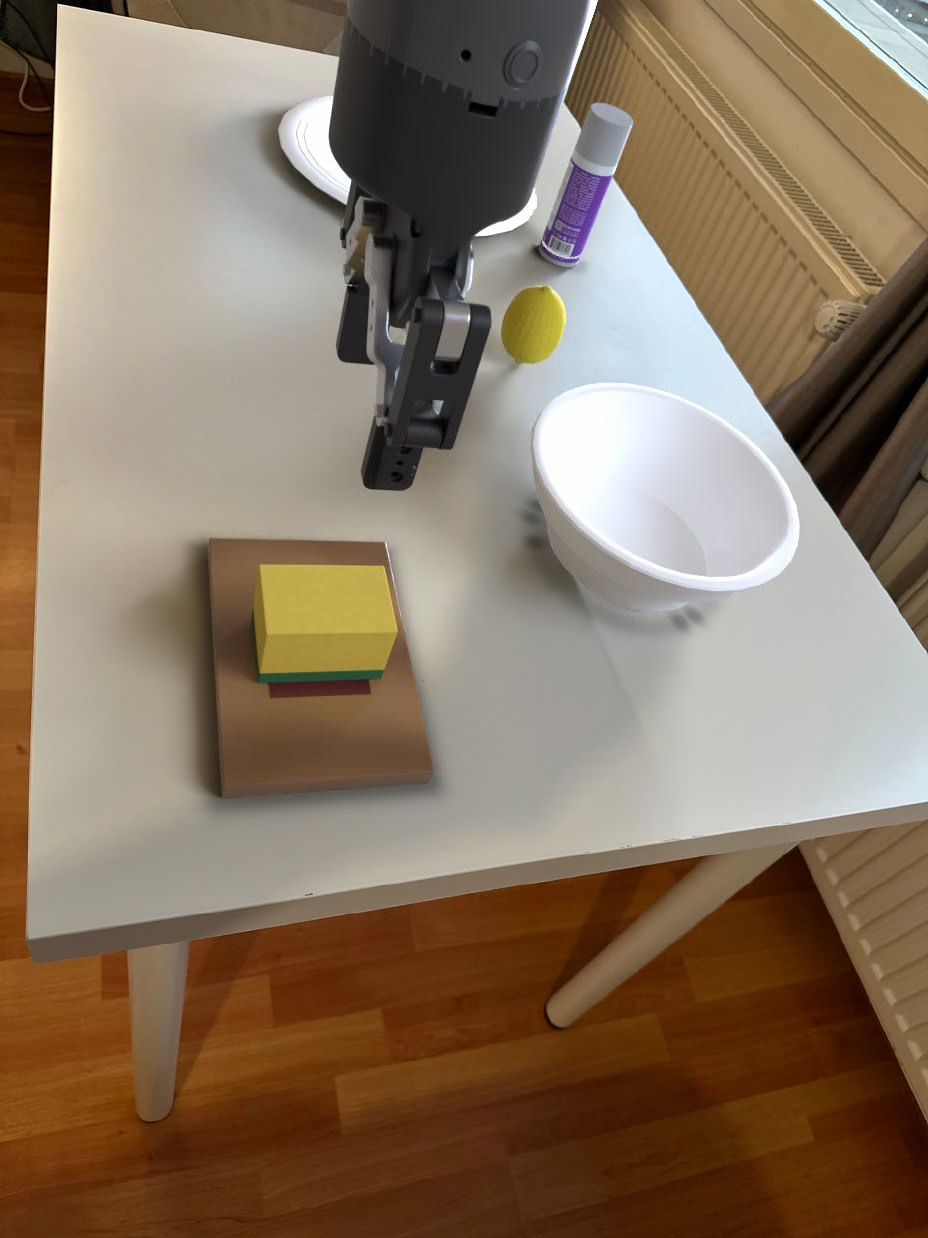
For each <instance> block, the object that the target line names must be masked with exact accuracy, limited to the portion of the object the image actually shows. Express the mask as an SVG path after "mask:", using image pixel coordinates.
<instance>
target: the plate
mask: <svg viewBox="0 0 928 1238" xmlns="http://www.w3.org/2000/svg"><path fill="white" fill-rule="evenodd" d="M333 96H334V94H333V95H332V94H331V95H322V96H321V95H320V96H317V97H314V98H311V99H308V100H305V101H302V102H299V103H296V105H294V106H293V107H292V108H290V109H289V110H287V112H285V113H284V114H283V116H282V119H281V121H280V123H279V126H278V127H277V128H278V129H277V134H278V139H279V144H280V149H281V151H282V153H283V154H284V156H285V157H286V158H287V160H288V162H289V163H290V165H291V166H292V167H293V169H294V170H295V171H296V172H297V173H298V174H300V175H301V176H302V177H303V178H304V179H305V180H306V181H307V182H309V183H310V184H311V185H312V186H313V187H314V188H316V189H317V190H318V191H319V192H321V193H323V194H325V195H326V196H328V197H330V198H331V199H333V200H334V201H335V202H338V203H339V204H341V205H343V206H344V207H346V205H347V200H348V195H349V189H350V184H351V179H350V178H349V177H348V176H347V175H346V174H345V173H344V172H343V171H342V169H341V168H340V167H339V165H338V164H337V162H336V160H335V159H334V157H333V154H332V152H331V149H330V145H329V140H328V130H329V123H330V116H331V109H332V103H333ZM535 190H536V188H535V189H534V190H533V193H532V196H531V198H530V200H529V202H528V204H527V205H526V206H525V208H524V209H523V210H522V211H521V212H520V213H518V214H517V215H516V216H514V217H512V218H510V219H508V220H506V221H503V222H499V223H496V224H494V225H491V226H489V227H487V228H485V229H483V230H482V231H480V232H479V233H477V234H476V235H475V236H474V237H473V238H472V239H478V238H479V239H482V238H483V239H484V238H491V237H494V236H499V235H502V234H508V233H511V232H513V231H515V230H517V229H518V228H519V227H521V226H523V225H524V224H526V223H527V222H529V220H530V218H531V217H530V216H532V215H533V213H534V212H533V211H535V210H536V208H537V193H536V194H535ZM534 209H535V210H534Z"/></svg>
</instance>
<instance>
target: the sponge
mask: <svg viewBox="0 0 928 1238" xmlns="http://www.w3.org/2000/svg"><path fill="white" fill-rule="evenodd" d="M252 625H253V635H254V646H255V657H256V668H257V679H258V683H274V682H303V681H333V680H363V679H381V678H382V675H383V672H384V669H385V666H386V663H387V660H388V657H389V654H390V652H391V649H392V646H393V643H394V640H395V638H396V635H397V632H398V631H397V626H396V622H395V617H394V612H393V607H392V602H391V597H390V592H389V588H388V583H387V578H386V573H385V568H384V566H341V565H259V567H258V574H257V582H256V589H255V596H254V604H253V610H252Z"/></svg>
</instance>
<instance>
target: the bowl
mask: <svg viewBox="0 0 928 1238" xmlns="http://www.w3.org/2000/svg"><path fill="white" fill-rule="evenodd" d="M530 452H531V453H530V454H531V463H532V471H533V480H534V485H535V492H536V497H537V501H538V503H539V505H540V508H541V509H542V512H543V515H544V517H545V518H546V522H545V523H546V524H545V526H546V532H547V538H548V541H549V543H550V546H551V548H552V550H553V553H554V554H555V556H556V557H557V559H558V560H559V562H560V563H561V565H562V566H563V568H565V570H566V571H567V572H568V573H569V574H570V575H571V576H572V577H573V578H574V580H576V581H578V582H579V583H580V584H581V585H582V586H583V587H585V588H586V589H587V590H589V591H591V592H592V593H593V594H595V595H597V596H599V597H600V598H602V599H604V600H606V601H609V602H611V603H613V604H616V605H618V606H621V607H624V608H627V609H631V610H635V611H642V612H649V613H650V612H651V613H657V612H658V613H659V612H669V611H674V610H676V609H680V608H683V607H684V606H686V605H688V604H690V603H691V604H692V603H693V604H694V603H710V602H714V601H719V600H722V599H726V598H729V597H732V596H734V595H737V594H740V593H742V592H745V591H748V590H750V589H752V588H756V587H759V586H761V585H764V584H765V583H766V582H768V581H770V580H772V579H773V578H775V577H777V576H778V575H780V574H781V573H782V572H783V571H784V570H785V568H786V567H788V565H789V564H790V563H791V562H792V560H793V558H794V555H795V553H796V550H797V549H798V545H799V537H800V525H801V524H800V519H799V514H798V508H797V504H796V502H795V500H794V498H793V495H792V493H791V491H790V488H789V486H788V484H787V482H786V481H785V480H784V478H783V476H782V475H781V473H780V472H779V470H778V468H777V467H776V466H775V465H774V463H772V461H771V460H770V459H769V458H768V456H766V454H765V453H764V452H763V451H762V450H761V449H760V448H759V447H758V446H757V445H756V444H754V442H752V441H751V440H750V439H749V438H748V437H747V436H746V435H745V434H744V433H743V432H741V431H740V430H739V429H737V428H735V426H733V425H731V423H729V422H727V421H726V420H724V419H723V418H721V417H720V416H718V415H716V414H714V413H713V412H711V411H709V410H707V409H706V408H704V407H702V406H700V405H698V404H696V403H695V402H692V401H689V400H687V399H686V398H685V399H684V398H683V397H680V396H678V395H675V394H672V393H669V392H667V391H666V392H665V391H662V390H660V389H656V388H653V387H648V386H643V385H638V384H633V383H623V382H622V383H621V382H620V383H619V382H600V383H599V382H598V383H591V384H584V385H581V386H578V387H575V388H571V389H568V390H566V391H565V392H563V393H561V394H559V395H557V396H556V397H554V398H553V399H551V400H550V401H549V402H548V404H547V405H545V407H544V408H542V410H541V411H540V412H539V414H538V415H537V417H536V420H535V422H534V424H533V427H532V429H531V440H530Z"/></svg>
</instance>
